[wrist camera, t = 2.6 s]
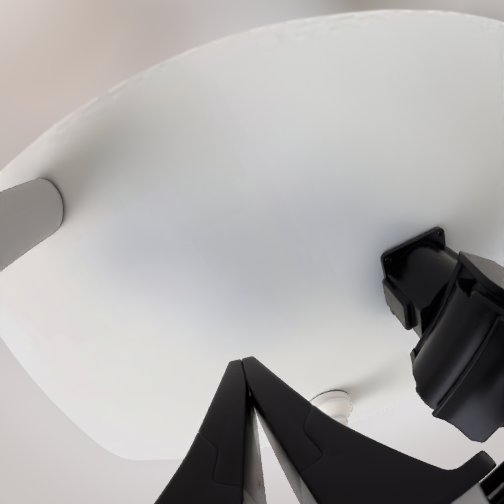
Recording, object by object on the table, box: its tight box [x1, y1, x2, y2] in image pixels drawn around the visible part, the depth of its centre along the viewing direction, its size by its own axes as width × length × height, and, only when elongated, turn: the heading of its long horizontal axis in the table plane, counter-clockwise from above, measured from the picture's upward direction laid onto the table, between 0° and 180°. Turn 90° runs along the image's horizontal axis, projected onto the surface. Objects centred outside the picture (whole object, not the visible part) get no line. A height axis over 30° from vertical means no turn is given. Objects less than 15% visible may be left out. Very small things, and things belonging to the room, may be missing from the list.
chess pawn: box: [310, 391, 353, 426], centre depth 24 cm, size 5×5×9 cm
